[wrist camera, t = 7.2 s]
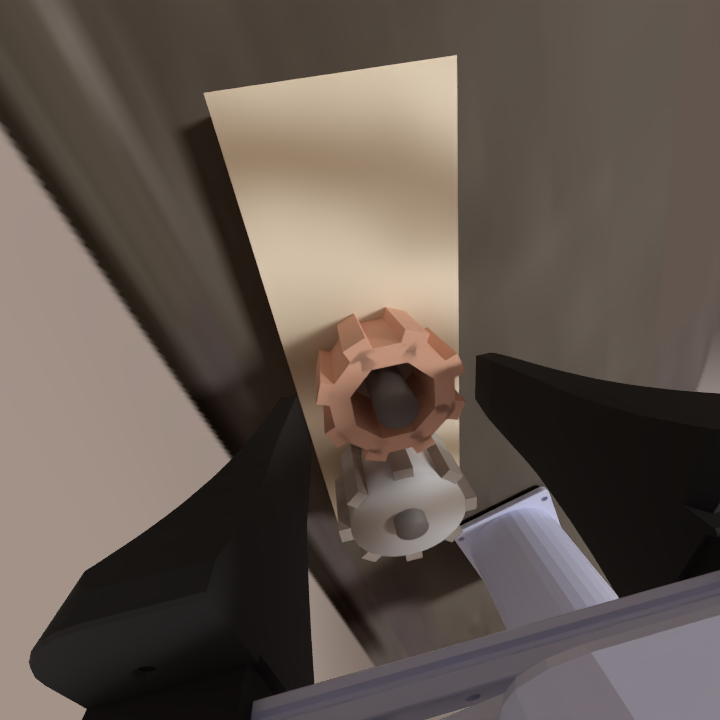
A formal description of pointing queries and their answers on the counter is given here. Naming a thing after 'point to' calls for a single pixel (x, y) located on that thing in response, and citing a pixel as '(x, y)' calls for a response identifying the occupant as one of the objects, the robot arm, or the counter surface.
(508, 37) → the counter surface
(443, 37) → the counter surface
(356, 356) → the gear
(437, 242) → the board
